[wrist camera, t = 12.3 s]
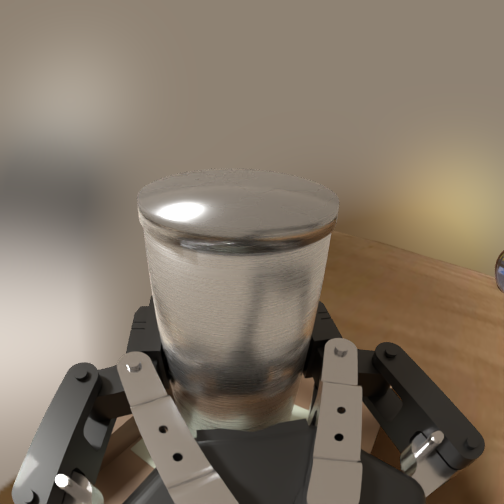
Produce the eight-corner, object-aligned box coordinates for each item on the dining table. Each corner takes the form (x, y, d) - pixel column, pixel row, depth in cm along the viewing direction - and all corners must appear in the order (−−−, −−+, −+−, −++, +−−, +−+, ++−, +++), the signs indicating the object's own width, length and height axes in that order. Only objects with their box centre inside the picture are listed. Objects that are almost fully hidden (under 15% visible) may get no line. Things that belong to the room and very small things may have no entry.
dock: (250, 334, 29) (252, 289, 26) (386, 386, 23) (408, 343, 20) (60, 511, 10) (17, 484, 8) (241, 637, 4) (243, 658, 2)
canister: (220, 378, 19) (217, 161, 13) (308, 419, 16) (368, 189, 10) (156, 442, 14) (84, 199, 8) (254, 501, 11) (295, 265, 5)
